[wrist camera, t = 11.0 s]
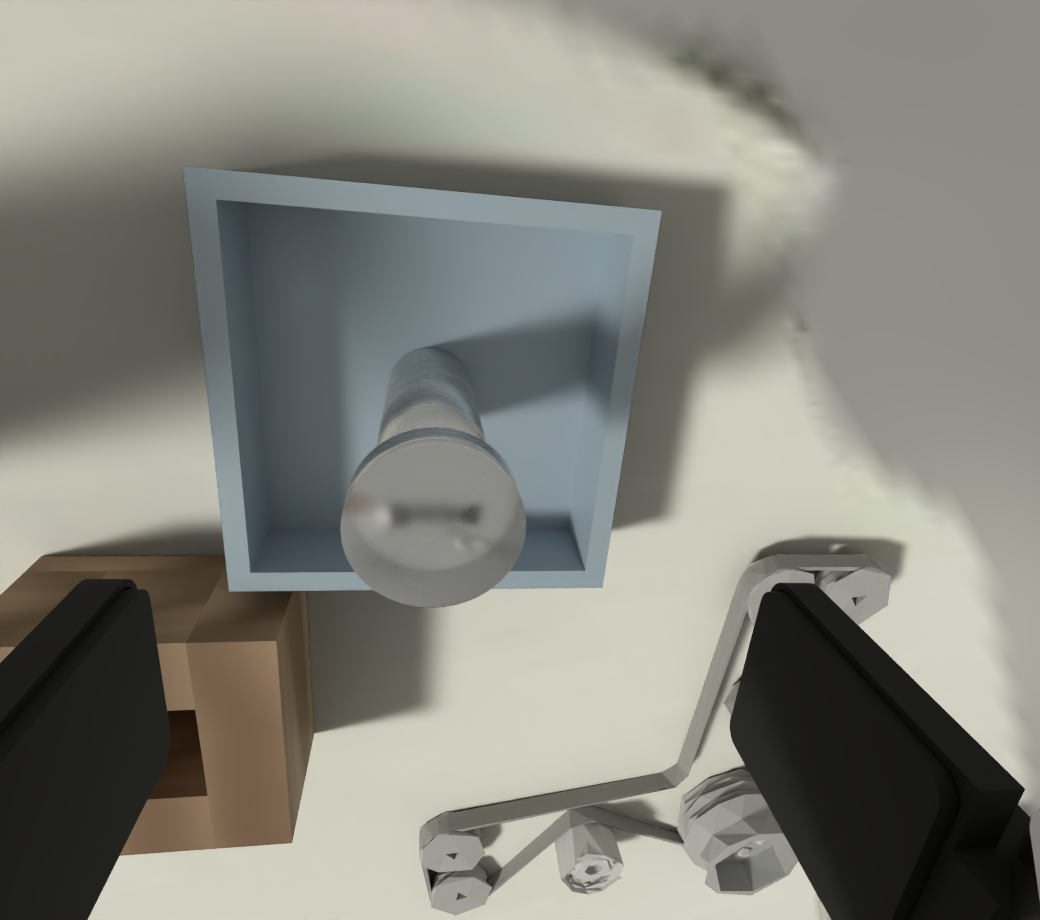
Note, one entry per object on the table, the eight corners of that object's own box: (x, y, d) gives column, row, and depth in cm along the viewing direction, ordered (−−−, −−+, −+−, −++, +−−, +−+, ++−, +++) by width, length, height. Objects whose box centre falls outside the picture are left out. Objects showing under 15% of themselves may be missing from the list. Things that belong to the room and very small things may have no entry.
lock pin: (486, 338, 21) (534, 448, 12) (479, 438, 22) (518, 606, 13) (375, 332, 20) (337, 442, 11) (376, 435, 22) (342, 608, 13)
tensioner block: (304, 555, 24) (276, 640, 19) (313, 734, 27) (291, 842, 23) (41, 555, 22) (-56, 648, 18) (86, 744, 26) (14, 863, 21)
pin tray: (624, 208, 21) (661, 210, 17) (579, 538, 25) (602, 587, 22) (224, 171, 19) (182, 166, 15) (255, 536, 23) (228, 591, 20)
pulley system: (951, 657, 32) (811, 490, 26) (1031, 732, 28) (888, 556, 22) (566, 924, 38) (375, 842, 32) (586, 1019, 34) (370, 946, 28)
